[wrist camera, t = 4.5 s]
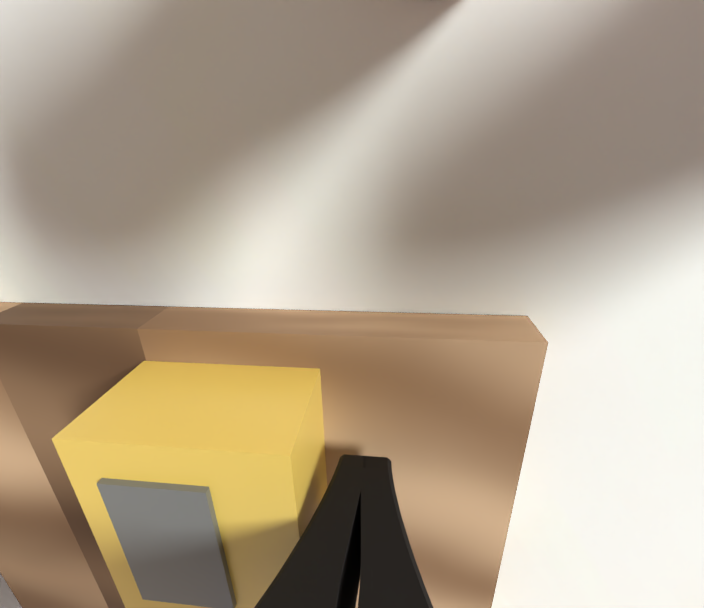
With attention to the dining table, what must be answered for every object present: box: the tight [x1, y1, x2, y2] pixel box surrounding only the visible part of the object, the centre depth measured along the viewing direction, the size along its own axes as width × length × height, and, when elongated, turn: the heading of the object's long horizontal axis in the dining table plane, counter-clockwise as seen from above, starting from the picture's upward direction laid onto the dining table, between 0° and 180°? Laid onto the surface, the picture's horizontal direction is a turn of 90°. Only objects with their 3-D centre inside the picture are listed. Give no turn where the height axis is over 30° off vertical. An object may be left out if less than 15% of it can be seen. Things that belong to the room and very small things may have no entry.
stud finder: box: [52, 361, 327, 608], centre depth 10 cm, size 6×5×3 cm
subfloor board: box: [0, 302, 548, 608], centre depth 14 cm, size 18×20×2 cm
